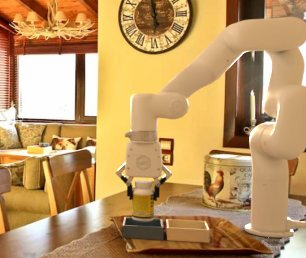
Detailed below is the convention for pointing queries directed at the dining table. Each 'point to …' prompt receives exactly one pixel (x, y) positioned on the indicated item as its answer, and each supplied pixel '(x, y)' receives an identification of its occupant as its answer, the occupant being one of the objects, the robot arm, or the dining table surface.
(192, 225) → the cream bin
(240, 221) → the dining table surface
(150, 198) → the pill bottle
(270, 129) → the robot arm
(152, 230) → the slate bin
